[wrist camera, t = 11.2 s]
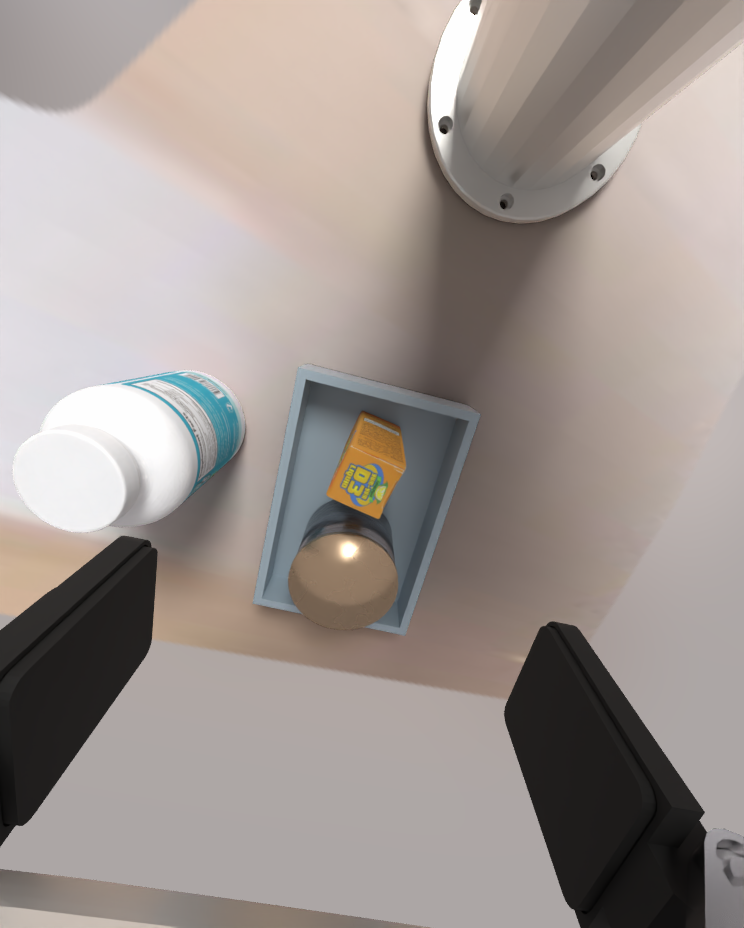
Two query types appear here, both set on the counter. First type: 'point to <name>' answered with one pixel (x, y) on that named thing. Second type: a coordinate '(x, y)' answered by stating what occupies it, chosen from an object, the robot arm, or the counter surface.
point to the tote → (316, 458)
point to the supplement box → (369, 465)
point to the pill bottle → (128, 450)
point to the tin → (344, 568)
